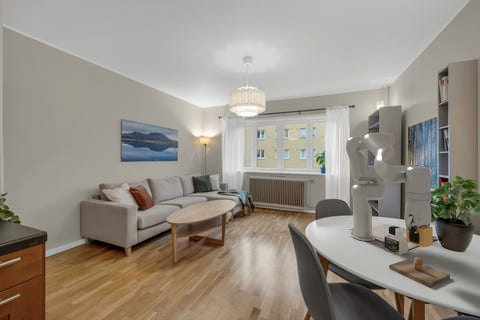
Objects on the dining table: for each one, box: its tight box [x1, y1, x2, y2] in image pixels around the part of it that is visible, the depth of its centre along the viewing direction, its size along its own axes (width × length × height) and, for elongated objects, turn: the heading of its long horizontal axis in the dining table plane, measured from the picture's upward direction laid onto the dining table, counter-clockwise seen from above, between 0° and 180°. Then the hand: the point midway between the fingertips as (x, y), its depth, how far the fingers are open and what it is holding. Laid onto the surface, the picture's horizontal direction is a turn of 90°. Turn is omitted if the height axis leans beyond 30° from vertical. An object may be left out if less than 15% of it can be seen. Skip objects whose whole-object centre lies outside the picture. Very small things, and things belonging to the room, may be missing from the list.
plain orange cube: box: [405, 223, 434, 248], centre depth 84 cm, size 6×6×7 cm
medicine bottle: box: [383, 225, 409, 256], centre depth 104 cm, size 7×7×12 cm
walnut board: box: [388, 256, 451, 288], centre depth 84 cm, size 14×14×6 cm
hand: (419, 240), depth 84 cm, fingers closed on plain orange cube, 6 cm apart
